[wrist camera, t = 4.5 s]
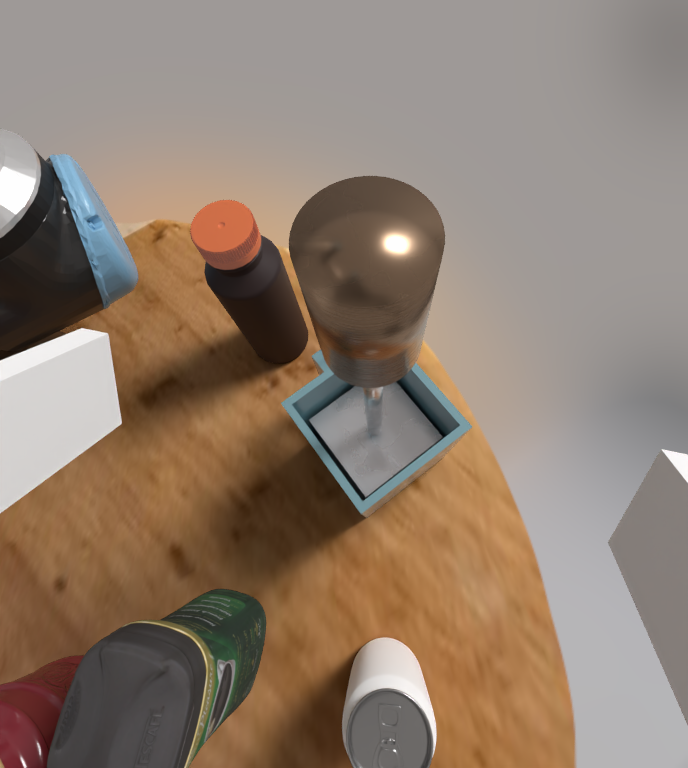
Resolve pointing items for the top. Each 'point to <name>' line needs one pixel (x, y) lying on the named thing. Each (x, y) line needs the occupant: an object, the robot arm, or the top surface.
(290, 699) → the top surface
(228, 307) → the vinegar
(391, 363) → the plunger
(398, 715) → the can
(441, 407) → the light blue square cup
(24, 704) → the canister
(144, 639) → the coffee jar
